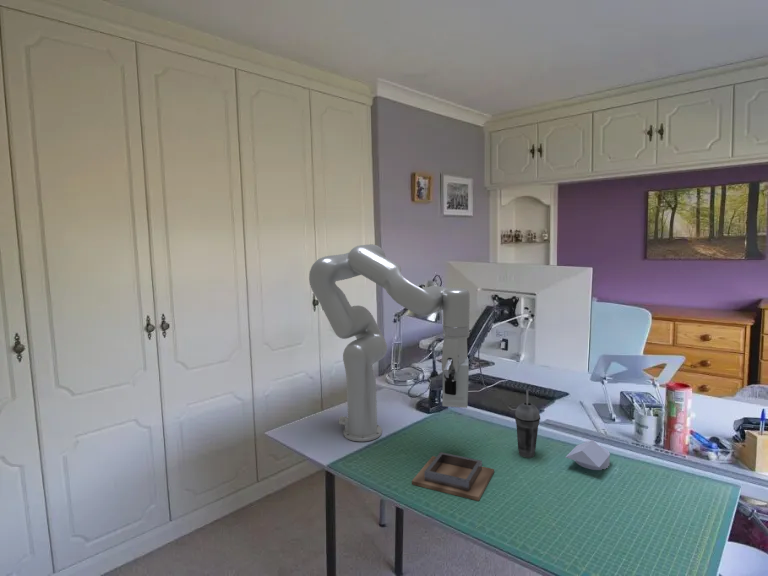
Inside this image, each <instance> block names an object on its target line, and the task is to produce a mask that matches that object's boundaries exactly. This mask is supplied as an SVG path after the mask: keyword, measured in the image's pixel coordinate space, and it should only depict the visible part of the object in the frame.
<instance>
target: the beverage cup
mask: <svg viewBox="0 0 768 576" xmlns="http://www.w3.org/2000/svg"><path fill="white" fill-rule="evenodd" d="M525 398H526V399H525V401H526V402H523V403H520V404H519V405H518V406H517V407H516V408H515V412H514V418H515V419H514V420H515V423H516V437H517V450H518V455H519V456H520V457H523V458H527V459H528V458H529V459H530V458H534V457H535V454H536V447H537V439H538V438H537V437H538V431H539V426H540V420H541V416H540V415H541V414H540V411H539V409H538V408H537V406H536V405H535V404H533V403H531V402H529V389H526V397H525Z"/></svg>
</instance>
